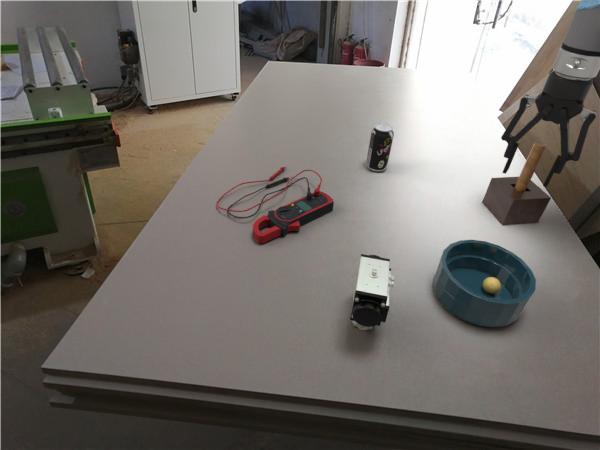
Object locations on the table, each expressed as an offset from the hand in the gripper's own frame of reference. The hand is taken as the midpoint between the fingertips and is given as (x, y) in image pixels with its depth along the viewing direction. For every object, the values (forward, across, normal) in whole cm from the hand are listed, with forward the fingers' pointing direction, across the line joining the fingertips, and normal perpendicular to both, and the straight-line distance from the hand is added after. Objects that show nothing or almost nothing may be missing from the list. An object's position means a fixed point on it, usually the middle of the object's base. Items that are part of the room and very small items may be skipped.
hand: (525, 177), depth 91 cm
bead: (+7, +3, -31) cm, 32 cm away
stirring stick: (+10, 0, 0) cm, 10 cm away
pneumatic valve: (+10, -12, -50) cm, 53 cm away
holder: (+10, 0, 0) cm, 10 cm away
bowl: (+10, +1, -32) cm, 34 cm away
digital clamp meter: (+10, -45, -32) cm, 57 cm away
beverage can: (+10, -35, -2) cm, 36 cm away
